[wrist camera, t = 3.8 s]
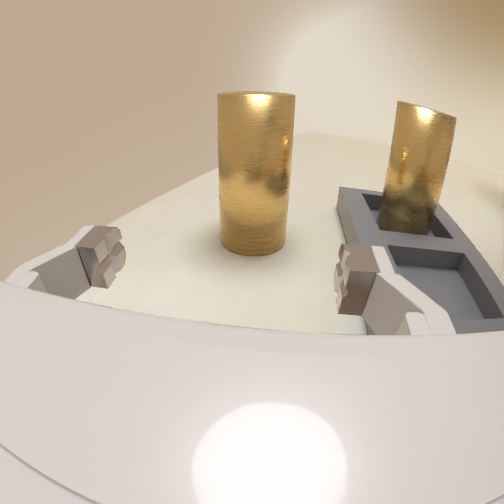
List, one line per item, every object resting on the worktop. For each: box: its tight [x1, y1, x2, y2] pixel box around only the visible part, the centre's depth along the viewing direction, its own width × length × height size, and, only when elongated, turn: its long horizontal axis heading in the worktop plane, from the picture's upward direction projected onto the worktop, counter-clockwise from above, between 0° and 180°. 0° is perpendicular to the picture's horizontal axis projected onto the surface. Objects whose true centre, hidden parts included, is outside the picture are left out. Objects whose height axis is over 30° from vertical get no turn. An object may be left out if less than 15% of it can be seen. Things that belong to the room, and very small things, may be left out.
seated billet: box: [376, 101, 456, 236], centre depth 21 cm, size 5×5×11 cm
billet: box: [217, 91, 295, 256], centre depth 20 cm, size 5×5×11 cm
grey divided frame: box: [337, 187, 504, 335], centre depth 20 cm, size 11×18×2 cm, turn 173°
